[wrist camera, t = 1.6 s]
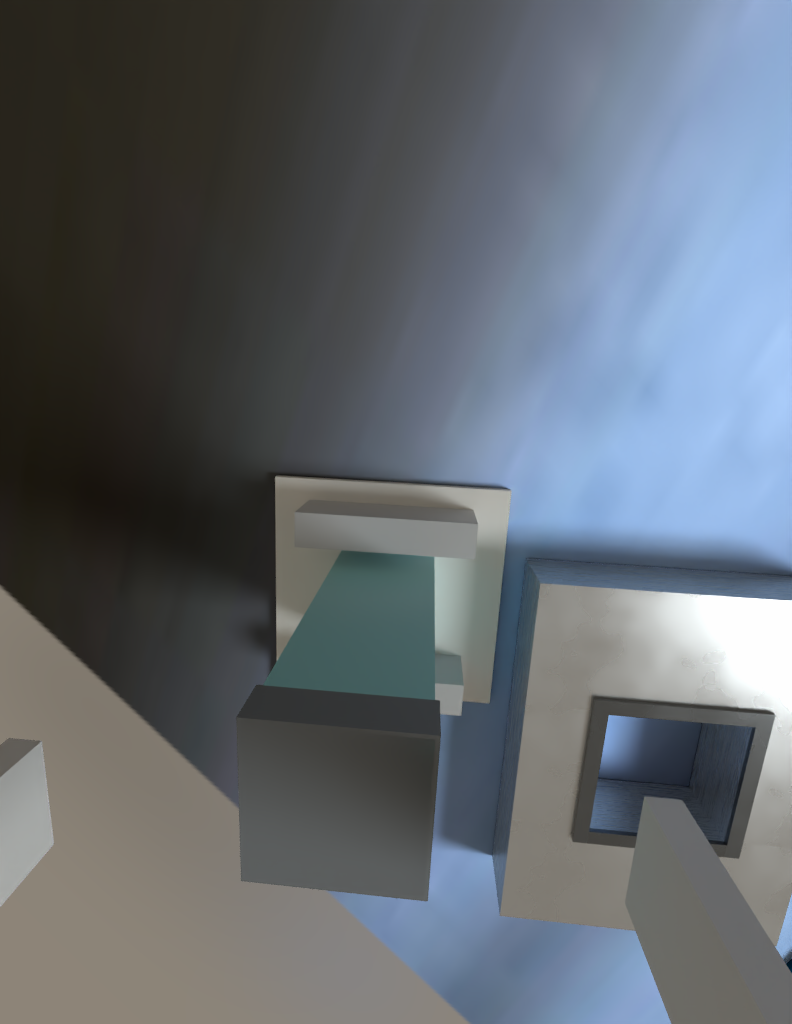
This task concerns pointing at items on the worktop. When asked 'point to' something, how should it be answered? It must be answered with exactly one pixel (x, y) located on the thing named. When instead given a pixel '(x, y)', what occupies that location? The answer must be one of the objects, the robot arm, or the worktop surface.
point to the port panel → (646, 694)
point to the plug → (347, 738)
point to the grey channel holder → (408, 531)
